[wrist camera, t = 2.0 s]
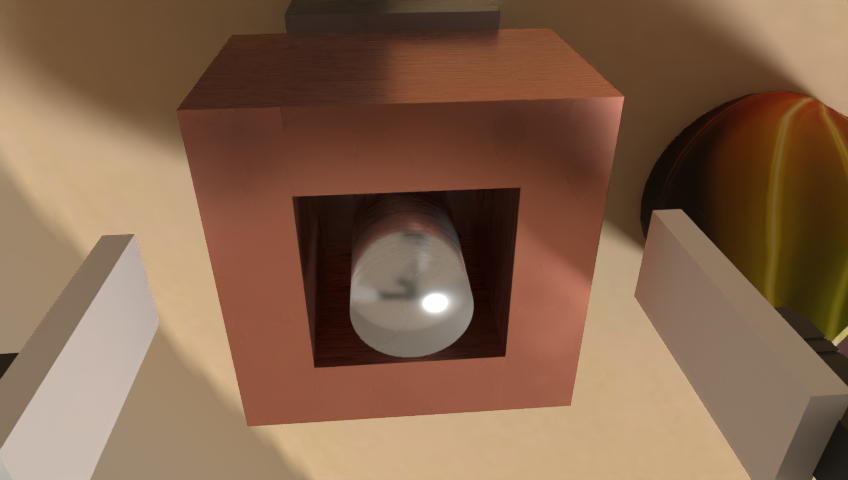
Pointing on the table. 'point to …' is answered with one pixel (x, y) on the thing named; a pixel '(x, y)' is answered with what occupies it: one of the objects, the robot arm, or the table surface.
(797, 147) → the mug
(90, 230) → the table surface
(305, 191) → the red square hollow block
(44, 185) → the table surface
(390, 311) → the toggle switch
